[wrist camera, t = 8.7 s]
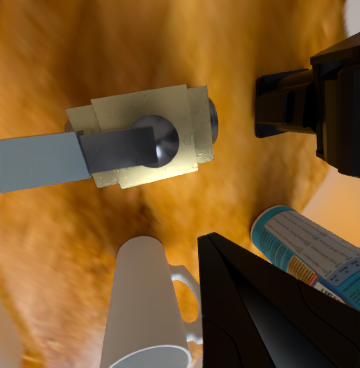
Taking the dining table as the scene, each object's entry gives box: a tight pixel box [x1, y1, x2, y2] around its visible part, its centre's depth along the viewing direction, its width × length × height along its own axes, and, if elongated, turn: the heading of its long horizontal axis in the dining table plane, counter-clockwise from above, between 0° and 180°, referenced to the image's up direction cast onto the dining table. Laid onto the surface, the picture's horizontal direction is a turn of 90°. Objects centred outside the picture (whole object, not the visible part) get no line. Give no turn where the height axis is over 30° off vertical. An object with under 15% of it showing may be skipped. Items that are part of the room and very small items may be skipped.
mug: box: [100, 236, 203, 368], centre depth 18 cm, size 10×7×12 cm, turn 81°
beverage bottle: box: [251, 205, 360, 311], centre depth 18 cm, size 8×8×20 cm
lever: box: [0, 115, 179, 193], centre depth 10 cm, size 3×11×2 cm, turn 96°
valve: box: [65, 84, 218, 189], centre depth 15 cm, size 12×6×6 cm, turn 100°
